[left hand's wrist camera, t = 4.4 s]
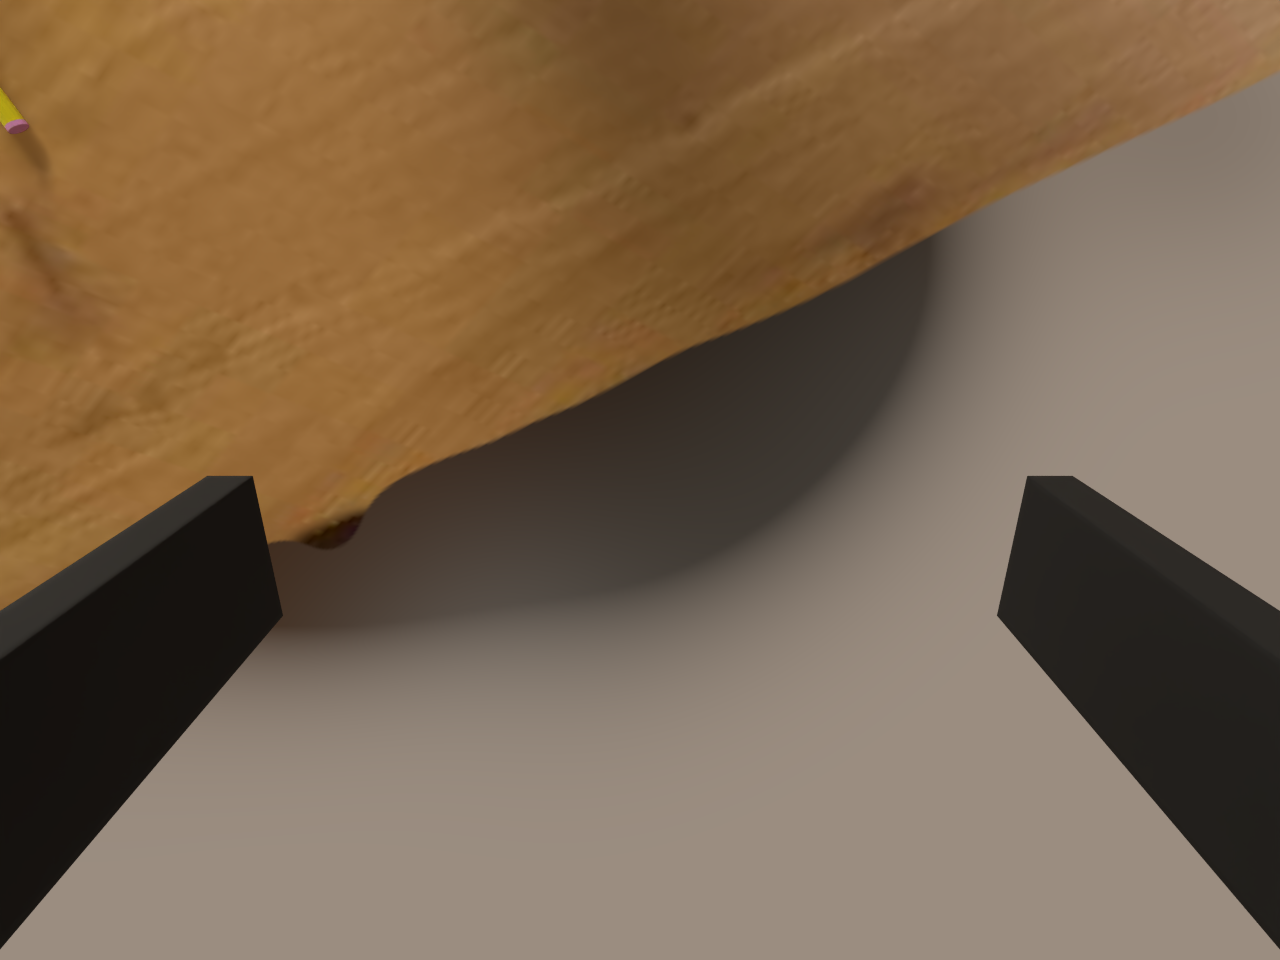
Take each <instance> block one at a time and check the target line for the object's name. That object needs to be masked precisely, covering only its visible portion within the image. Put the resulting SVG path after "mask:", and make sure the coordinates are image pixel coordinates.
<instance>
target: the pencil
mask: <svg viewBox="0 0 1280 960" xmlns="http://www.w3.org/2000/svg"><path fill="white" fill-rule="evenodd" d="M0 122H1V123H2V124H3V126H4V127H5V128H6V130H7V131H8V132H9V133H11V134H17V133H21V132H23V131H25V130H27V129H28V128H29V125H28V123H27V122H26V120H25V119H24V118H23V117H22V115H21V114H20V113H19V111H18V110H17V109H16V107H15V106H14V105H13V103H12V102H11V101H10V99H9V98H8V97H7V95H6V94H5V93H4V91H3V90H2V89H1V88H0Z"/></svg>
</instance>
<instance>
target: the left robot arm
mask: <svg viewBox="0 0 1280 960" xmlns="http://www.w3.org/2000/svg"><path fill="white" fill-rule="evenodd" d="M282 616H283V614H282V609H281V605H280V600H279V595H278V591H277V586H276V582H275V577H274V572H273V568H272V563H271V559H270V554H269V549H268V545H267V540H266V535H265V531H264V526H263V522H262V517H261V512H260V508H259V503H258V498H257V494H256V489H255V485H254V480H253V476H207V477H205V478H204V479H202V480H201V481H199V482H197V483H196V484H194V485H193V486H191V487H190V488H188V489H187V490H185V491H184V492H182V493H181V494H179V495H178V496H176V497H174V498H173V499H171V500H170V501H168V502H167V503H165V504H164V505H162V506H161V507H159V508H158V509H156V510H154V511H153V512H151V513H150V514H148V515H147V516H145V517H144V518H142V519H141V520H139V521H138V522H136V523H135V524H133V525H131V526H130V527H128V528H127V529H125V530H124V531H122V532H121V533H119V534H118V535H116V536H115V537H113V538H112V539H110V540H108V541H107V542H105V543H104V544H102V545H101V546H99V547H98V548H96V549H95V550H93V551H92V552H90V553H88V554H87V555H85V556H84V557H82V558H81V559H79V560H78V561H76V562H75V563H73V564H72V565H70V566H69V567H67V568H65V569H64V570H62V571H61V572H59V573H58V574H56V575H55V576H53V577H52V578H50V579H49V580H47V581H45V582H44V583H42V584H41V585H39V586H38V587H36V588H35V589H33V590H32V591H30V592H29V593H27V594H26V595H24V596H22V597H21V598H19V599H18V600H16V601H15V602H13V603H12V604H10V605H9V606H7V607H6V608H4V609H3V610H1V611H0V949H1V948H2V946H3V945H4V944H5V943H6V942H7V941H8V939H9V938H10V937H11V936H12V935H13V933H14V932H15V931H16V930H17V929H18V928H19V926H20V925H21V924H22V923H23V922H24V921H25V919H26V918H27V917H28V916H29V915H30V913H31V912H32V911H33V910H34V909H35V908H36V906H37V905H38V904H39V903H40V902H41V900H42V899H43V898H44V897H45V896H46V894H47V893H48V892H49V891H50V890H51V889H52V887H53V886H54V885H55V884H56V883H57V882H58V880H59V879H60V878H61V877H62V876H63V874H64V873H65V872H66V871H67V870H68V869H69V867H70V866H71V865H72V864H73V863H74V862H75V860H76V859H77V858H78V857H79V856H80V854H81V853H82V852H83V851H84V850H85V848H86V847H87V846H88V845H89V844H90V843H91V841H92V840H93V839H94V838H95V837H96V836H97V834H98V833H99V832H100V831H101V830H102V828H103V827H104V826H105V825H106V824H107V823H108V821H109V820H110V819H111V818H112V817H113V815H114V814H115V813H116V812H117V811H118V810H119V808H120V807H121V806H122V805H123V804H124V803H125V801H126V800H127V799H128V798H129V797H130V795H131V794H132V793H133V792H134V791H135V789H136V788H137V787H138V786H139V785H140V784H141V782H142V781H143V780H144V779H145V778H146V776H147V775H148V774H149V773H150V772H151V771H152V769H153V768H154V767H155V766H156V765H157V763H158V762H159V761H160V760H161V759H162V758H163V756H164V755H165V754H166V753H167V752H168V751H169V749H170V748H171V747H172V746H173V745H174V744H175V742H176V741H177V740H178V739H179V738H180V736H181V735H182V734H183V733H184V732H185V731H186V729H187V728H188V727H189V726H190V725H191V723H192V722H193V721H194V720H195V719H196V718H197V716H198V715H199V714H200V713H201V712H202V710H203V709H204V708H205V707H206V706H207V705H208V703H209V702H210V701H211V700H212V699H213V697H214V696H215V695H216V694H217V693H218V692H219V690H220V689H221V688H222V687H223V686H224V685H225V683H226V682H227V681H228V680H229V679H230V677H231V676H232V675H233V674H234V673H235V672H236V670H237V669H238V668H239V667H240V666H241V664H242V663H243V662H244V661H245V660H246V659H247V657H248V656H249V655H250V654H251V653H252V651H253V650H254V649H255V648H256V647H257V646H258V644H259V643H260V642H261V641H262V640H263V638H264V637H265V636H266V635H267V634H268V633H269V631H270V630H271V629H272V628H273V627H274V625H275V624H276V623H277V622H278V621H279V620H280V618H281V617H282ZM997 616H998V617H999V618H1000V620H1001V621H1002V622H1003V623H1004V624H1005V626H1006V627H1007V628H1008V629H1009V630H1010V631H1011V633H1012V634H1013V635H1014V636H1015V637H1016V638H1017V640H1018V641H1019V642H1020V643H1021V644H1022V646H1023V647H1024V648H1025V649H1026V650H1027V651H1028V653H1029V654H1030V655H1031V656H1032V657H1033V659H1034V660H1035V661H1036V662H1037V663H1038V664H1039V666H1040V667H1041V668H1042V669H1043V670H1044V672H1045V673H1046V674H1047V675H1048V676H1049V677H1050V679H1051V680H1052V681H1053V682H1054V683H1055V684H1056V686H1057V687H1058V688H1059V689H1060V690H1061V692H1062V693H1063V694H1064V695H1065V696H1066V697H1067V699H1068V700H1069V701H1070V702H1071V703H1072V705H1073V706H1074V707H1075V708H1076V709H1077V710H1078V712H1079V713H1080V714H1081V715H1082V716H1083V717H1084V719H1085V720H1086V721H1087V722H1088V723H1089V725H1090V726H1091V727H1092V728H1093V729H1094V730H1095V732H1096V733H1097V734H1098V735H1099V736H1100V738H1101V739H1102V740H1103V741H1104V742H1105V744H1106V745H1107V746H1108V747H1109V748H1110V749H1111V751H1112V752H1113V753H1114V754H1115V755H1116V756H1117V758H1118V759H1119V760H1120V761H1121V762H1122V764H1123V765H1124V766H1125V767H1126V768H1127V769H1128V771H1129V772H1130V773H1131V774H1132V775H1133V777H1134V778H1135V779H1136V780H1137V781H1138V782H1139V784H1140V785H1141V786H1142V787H1143V788H1144V790H1145V791H1146V792H1147V793H1148V794H1149V795H1150V797H1151V798H1152V799H1153V800H1154V801H1155V802H1156V804H1157V805H1158V806H1159V807H1160V808H1161V810H1162V811H1163V812H1164V813H1165V814H1166V815H1167V817H1168V818H1169V819H1170V820H1171V821H1172V823H1173V824H1174V825H1175V826H1176V827H1177V828H1178V830H1179V831H1180V832H1181V833H1182V834H1183V836H1184V837H1185V838H1186V839H1187V840H1188V841H1189V843H1190V844H1191V845H1192V846H1193V847H1194V849H1195V850H1196V851H1197V852H1198V853H1199V854H1200V856H1201V857H1202V858H1203V859H1204V860H1205V862H1206V863H1207V864H1208V865H1209V866H1210V867H1211V869H1212V870H1213V871H1214V872H1215V873H1216V874H1217V876H1218V877H1219V878H1220V879H1221V880H1222V882H1223V883H1224V884H1225V885H1226V886H1227V887H1228V889H1229V890H1230V891H1231V892H1232V893H1233V895H1234V896H1235V897H1236V898H1237V899H1238V900H1239V902H1240V903H1241V904H1242V905H1243V906H1244V908H1245V909H1246V910H1247V911H1248V912H1249V913H1250V915H1251V916H1252V917H1253V918H1254V919H1255V920H1256V922H1257V923H1258V924H1259V925H1260V926H1261V928H1262V929H1263V930H1264V931H1265V932H1266V933H1267V935H1268V936H1269V937H1270V938H1271V939H1272V941H1273V942H1274V943H1275V944H1276V945H1277V946H1278V948H1279V949H1280V611H1279V610H1277V609H1276V608H1274V607H1273V606H1271V605H1270V604H1268V603H1267V602H1265V601H1264V600H1262V599H1260V598H1259V597H1258V596H1256V595H1254V594H1253V593H1251V592H1250V591H1248V590H1247V589H1245V588H1244V587H1242V586H1241V585H1239V584H1238V583H1236V582H1235V581H1233V580H1231V579H1230V578H1228V577H1227V576H1225V575H1224V574H1222V573H1221V572H1219V571H1218V570H1216V569H1215V568H1213V567H1211V566H1210V565H1208V564H1207V563H1205V562H1204V561H1202V560H1201V559H1199V558H1198V557H1196V556H1195V555H1193V554H1192V553H1190V552H1188V551H1187V550H1185V549H1184V548H1182V547H1181V546H1179V545H1178V544H1176V543H1175V542H1173V541H1172V540H1170V539H1168V538H1167V537H1165V536H1164V535H1162V534H1161V533H1159V532H1158V531H1156V530H1155V529H1153V528H1152V527H1150V526H1148V525H1147V524H1145V523H1144V522H1142V521H1141V520H1139V519H1138V518H1136V517H1135V516H1133V515H1132V514H1130V513H1129V512H1127V511H1126V510H1124V509H1122V508H1121V507H1119V506H1118V505H1116V504H1115V503H1113V502H1112V501H1110V500H1109V499H1107V498H1106V497H1104V496H1102V495H1101V494H1099V493H1098V492H1096V491H1095V490H1093V489H1092V488H1090V487H1089V486H1087V485H1086V484H1084V483H1083V482H1081V481H1079V480H1078V479H1076V478H1075V477H1073V476H1027V480H1026V485H1025V489H1024V494H1023V499H1022V503H1021V508H1020V512H1019V517H1018V522H1017V526H1016V531H1015V535H1014V540H1013V545H1012V549H1011V554H1010V558H1009V563H1008V568H1007V572H1006V577H1005V581H1004V586H1003V591H1002V595H1001V600H1000V605H999V609H998V614H997Z"/></svg>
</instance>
